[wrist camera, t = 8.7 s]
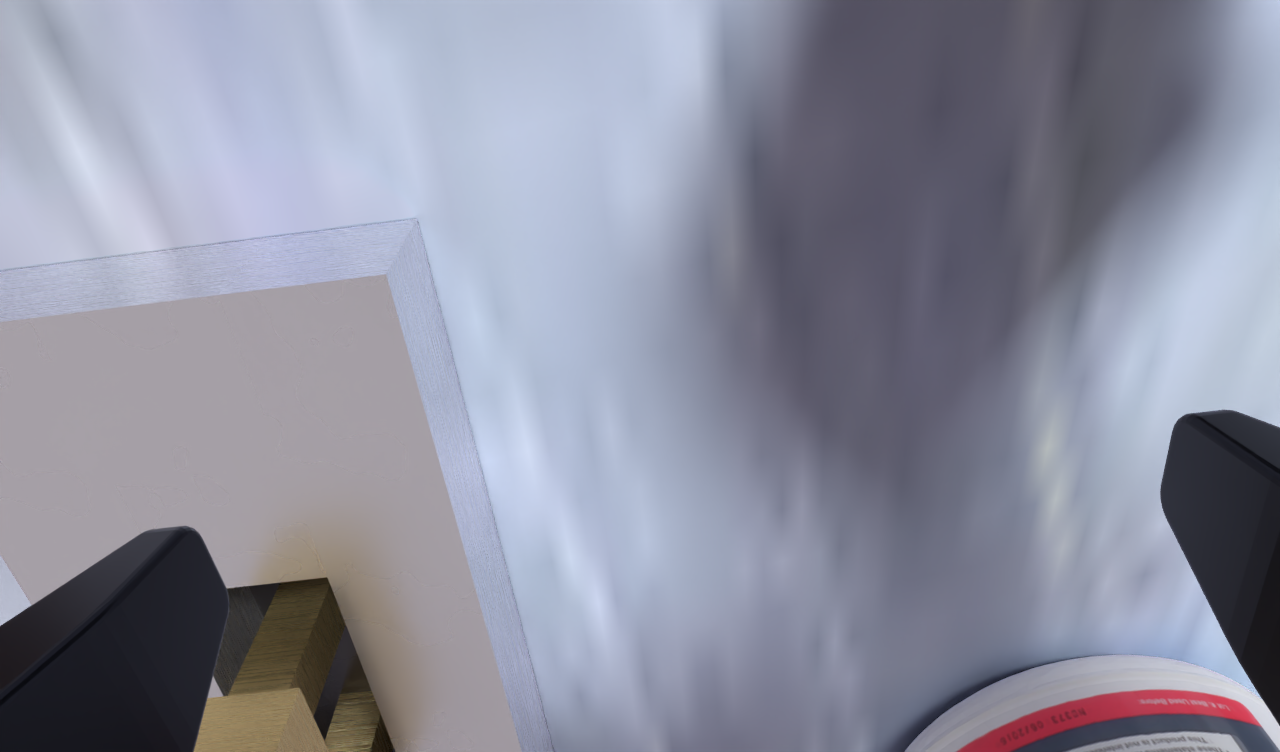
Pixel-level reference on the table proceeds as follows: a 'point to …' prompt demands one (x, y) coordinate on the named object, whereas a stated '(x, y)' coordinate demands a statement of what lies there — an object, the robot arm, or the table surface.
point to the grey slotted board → (274, 460)
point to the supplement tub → (1107, 711)
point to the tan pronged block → (292, 685)
